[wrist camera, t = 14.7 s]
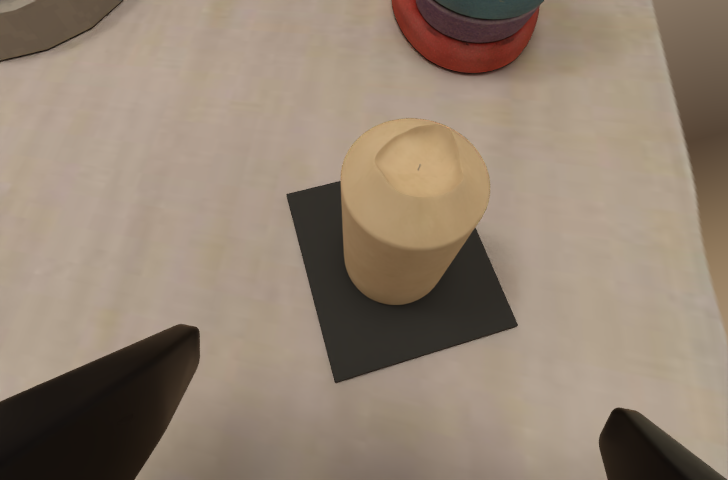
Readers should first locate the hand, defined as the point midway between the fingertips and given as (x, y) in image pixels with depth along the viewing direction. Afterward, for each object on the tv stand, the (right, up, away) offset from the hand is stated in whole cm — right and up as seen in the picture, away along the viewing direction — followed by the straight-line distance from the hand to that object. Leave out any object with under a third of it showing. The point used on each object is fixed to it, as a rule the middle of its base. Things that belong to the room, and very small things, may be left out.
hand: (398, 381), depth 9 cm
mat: (+1, +2, +15) cm, 15 cm away
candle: (+1, +2, +14) cm, 15 cm away
